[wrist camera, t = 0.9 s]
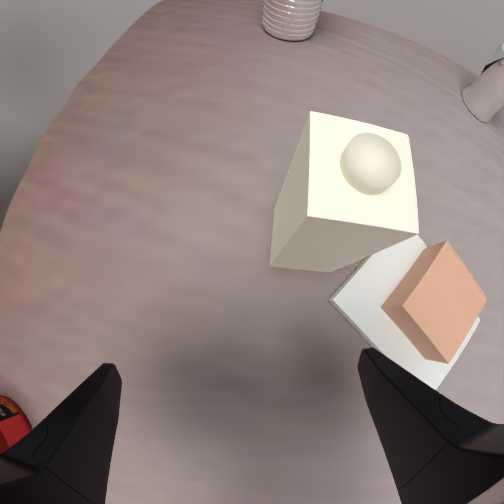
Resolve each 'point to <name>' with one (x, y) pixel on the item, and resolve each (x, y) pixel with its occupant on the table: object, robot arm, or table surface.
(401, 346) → the baseplate
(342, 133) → the tall block
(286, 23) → the water bottle
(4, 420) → the canned food
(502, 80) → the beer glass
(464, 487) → the robot arm
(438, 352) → the base block
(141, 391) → the table surface
